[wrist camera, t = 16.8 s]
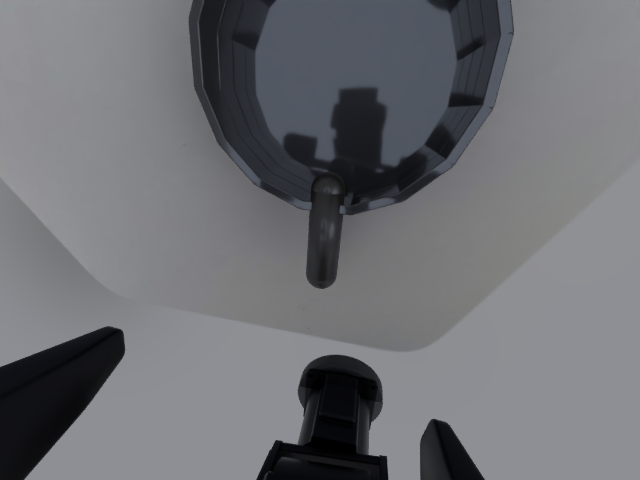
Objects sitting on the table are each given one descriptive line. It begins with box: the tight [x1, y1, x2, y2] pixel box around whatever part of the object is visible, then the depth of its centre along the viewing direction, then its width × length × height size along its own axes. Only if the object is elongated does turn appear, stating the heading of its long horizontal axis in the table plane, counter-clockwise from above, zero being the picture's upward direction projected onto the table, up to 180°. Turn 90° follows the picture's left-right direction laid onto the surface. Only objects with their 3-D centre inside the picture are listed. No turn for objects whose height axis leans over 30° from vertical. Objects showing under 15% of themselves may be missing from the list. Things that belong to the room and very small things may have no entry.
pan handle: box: [306, 172, 345, 289], centre depth 17 cm, size 7×2×2 cm, turn 176°
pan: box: [189, 0, 514, 215], centre depth 15 cm, size 14×14×4 cm
